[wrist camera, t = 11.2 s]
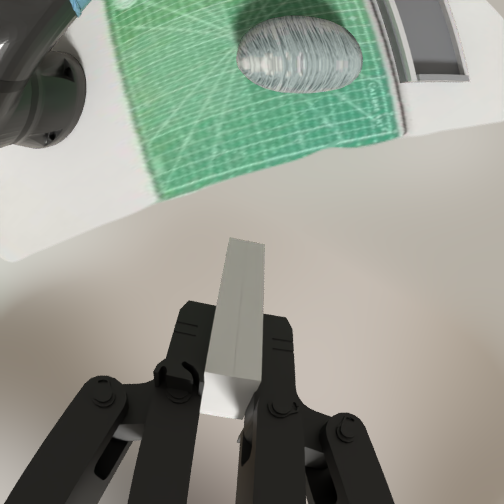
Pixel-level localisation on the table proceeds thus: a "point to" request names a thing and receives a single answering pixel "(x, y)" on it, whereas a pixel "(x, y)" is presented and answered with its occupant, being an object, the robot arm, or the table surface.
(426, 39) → the gray rectangular tray
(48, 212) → the table surface
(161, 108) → the table surface
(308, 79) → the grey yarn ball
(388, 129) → the table surface
